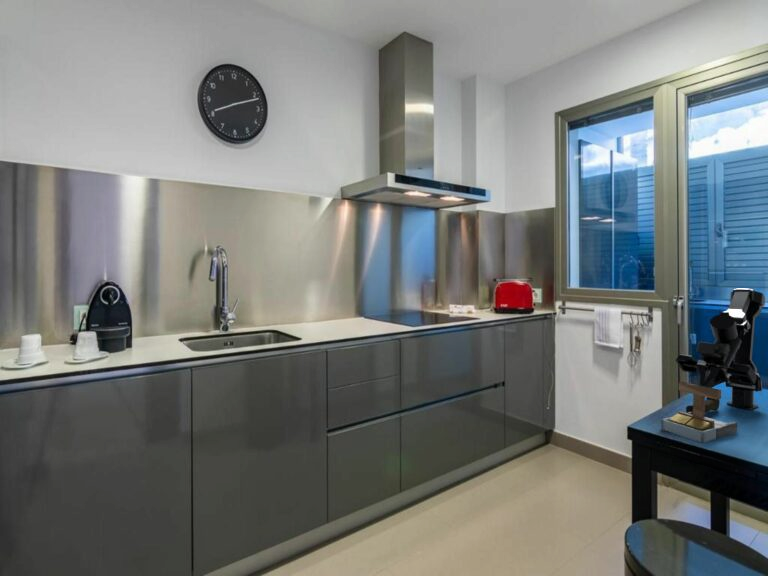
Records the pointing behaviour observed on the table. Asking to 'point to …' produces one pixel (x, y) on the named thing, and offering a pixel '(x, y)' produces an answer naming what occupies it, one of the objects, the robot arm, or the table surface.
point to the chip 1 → (680, 419)
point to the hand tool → (707, 405)
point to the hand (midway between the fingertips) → (701, 390)
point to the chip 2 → (698, 425)
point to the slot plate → (722, 427)
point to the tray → (688, 431)
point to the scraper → (699, 400)
